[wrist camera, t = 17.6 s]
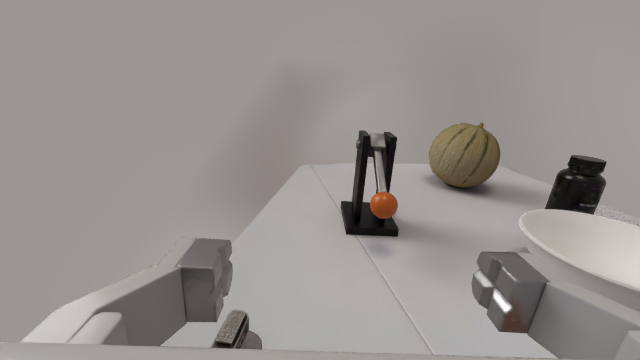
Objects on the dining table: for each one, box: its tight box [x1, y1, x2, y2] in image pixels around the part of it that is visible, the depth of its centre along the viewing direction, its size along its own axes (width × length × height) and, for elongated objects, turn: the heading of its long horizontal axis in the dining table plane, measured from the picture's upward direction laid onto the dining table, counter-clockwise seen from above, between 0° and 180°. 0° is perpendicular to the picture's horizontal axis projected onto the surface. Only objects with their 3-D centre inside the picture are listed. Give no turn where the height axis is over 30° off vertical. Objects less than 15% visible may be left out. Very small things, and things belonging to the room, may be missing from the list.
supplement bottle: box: [545, 155, 606, 215], centre depth 54 cm, size 7×7×12 cm
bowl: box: [519, 209, 640, 312], centre depth 36 cm, size 20×20×6 cm
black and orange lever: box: [341, 131, 399, 236], centre depth 48 cm, size 10×8×15 cm
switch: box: [368, 133, 398, 219], centre depth 43 cm, size 14×4×4 cm
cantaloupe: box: [429, 123, 500, 187], centre depth 69 cm, size 15×15×15 cm
